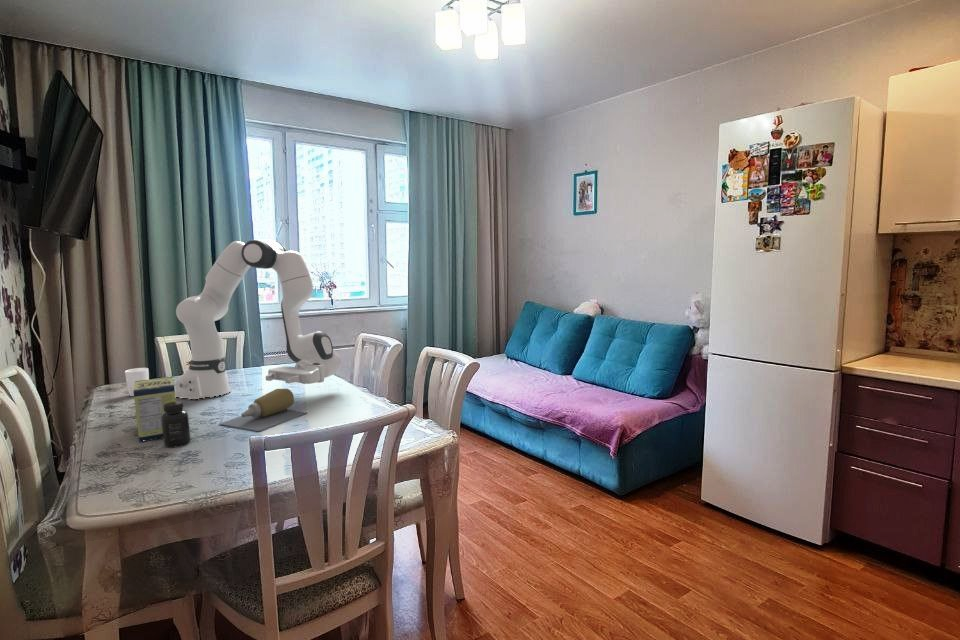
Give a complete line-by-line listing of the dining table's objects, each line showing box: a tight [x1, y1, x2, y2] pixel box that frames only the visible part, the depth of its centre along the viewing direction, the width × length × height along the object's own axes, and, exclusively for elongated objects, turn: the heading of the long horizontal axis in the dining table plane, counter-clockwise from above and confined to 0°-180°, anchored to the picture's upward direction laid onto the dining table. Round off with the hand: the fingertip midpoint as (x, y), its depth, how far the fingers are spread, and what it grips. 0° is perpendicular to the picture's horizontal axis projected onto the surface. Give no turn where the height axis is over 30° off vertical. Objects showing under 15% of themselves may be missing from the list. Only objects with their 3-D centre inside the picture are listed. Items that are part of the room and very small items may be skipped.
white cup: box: [124, 367, 150, 395], centre depth 208 cm, size 8×8×10 cm
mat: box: [218, 408, 308, 433], centre depth 173 cm, size 20×18×1 cm
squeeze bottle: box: [241, 388, 295, 418], centre depth 175 cm, size 8×8×18 cm
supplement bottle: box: [161, 400, 192, 448], centre depth 151 cm, size 7×7×12 cm
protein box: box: [133, 376, 177, 442], centre depth 162 cm, size 10×16×16 cm
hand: (276, 379), depth 182 cm, fingers open, 8 cm apart
